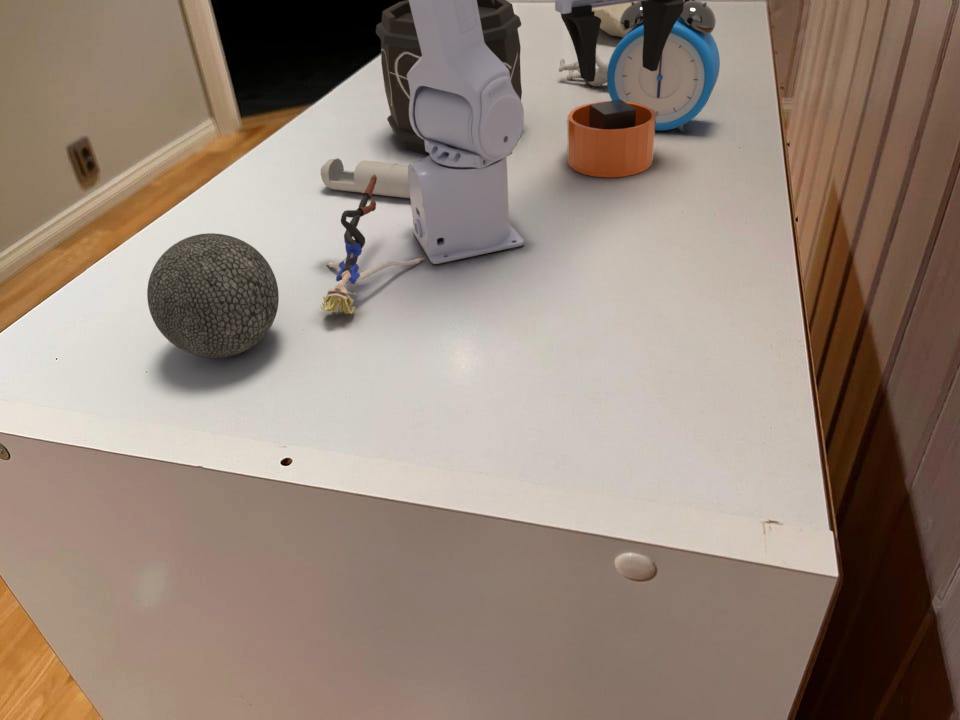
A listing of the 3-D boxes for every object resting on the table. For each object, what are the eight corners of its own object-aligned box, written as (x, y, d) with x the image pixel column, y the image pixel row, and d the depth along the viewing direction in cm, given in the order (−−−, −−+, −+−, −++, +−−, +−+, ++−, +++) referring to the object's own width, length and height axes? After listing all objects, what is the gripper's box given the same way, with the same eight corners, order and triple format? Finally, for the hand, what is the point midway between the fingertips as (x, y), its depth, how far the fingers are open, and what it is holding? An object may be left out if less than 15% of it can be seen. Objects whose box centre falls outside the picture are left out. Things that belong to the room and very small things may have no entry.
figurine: (309, 383, 72) (372, 234, 83) (384, 372, 67) (440, 216, 79) (235, 311, 65) (316, 159, 77) (314, 294, 61) (386, 136, 72)
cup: (589, 183, 88) (590, 136, 84) (554, 153, 95) (554, 109, 92) (668, 168, 90) (672, 121, 87) (628, 140, 98) (630, 96, 94)
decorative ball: (253, 390, 60) (220, 278, 54) (143, 375, 63) (101, 266, 57) (309, 320, 68) (286, 216, 62) (210, 309, 70) (178, 208, 65)
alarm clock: (604, 129, 101) (608, 5, 92) (615, 113, 106) (620, -6, 97) (706, 136, 97) (721, 8, 88) (714, 120, 101) (728, -4, 93)
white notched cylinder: (315, 195, 90) (304, 140, 86) (335, 179, 93) (326, 125, 89) (459, 212, 84) (454, 154, 80) (475, 194, 87) (471, 137, 83)
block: (602, 165, 90) (604, 114, 87) (588, 154, 93) (589, 104, 90) (633, 159, 91) (636, 108, 88) (618, 148, 94) (620, 98, 91)
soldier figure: (581, 79, 122) (650, 63, 114) (576, 107, 121) (644, 93, 113) (554, 52, 116) (624, 32, 109) (548, 81, 116) (618, 63, 108)
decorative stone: (678, 12, 127) (591, -20, 127) (655, 65, 132) (572, 35, 132) (678, -14, 145) (602, -42, 145) (658, 34, 150) (585, 7, 150)
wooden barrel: (380, 164, 96) (360, 30, 87) (397, 115, 111) (382, -4, 101) (525, 157, 95) (521, 21, 86) (523, 109, 109) (520, -13, 100)
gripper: (575, -51, 73) (573, 94, 81) (710, -68, 76) (696, 73, 84) (546, -61, 79) (547, 76, 87) (673, -76, 82) (663, 57, 90)
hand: (618, 74), depth 86 cm, fingers open, 7 cm apart
